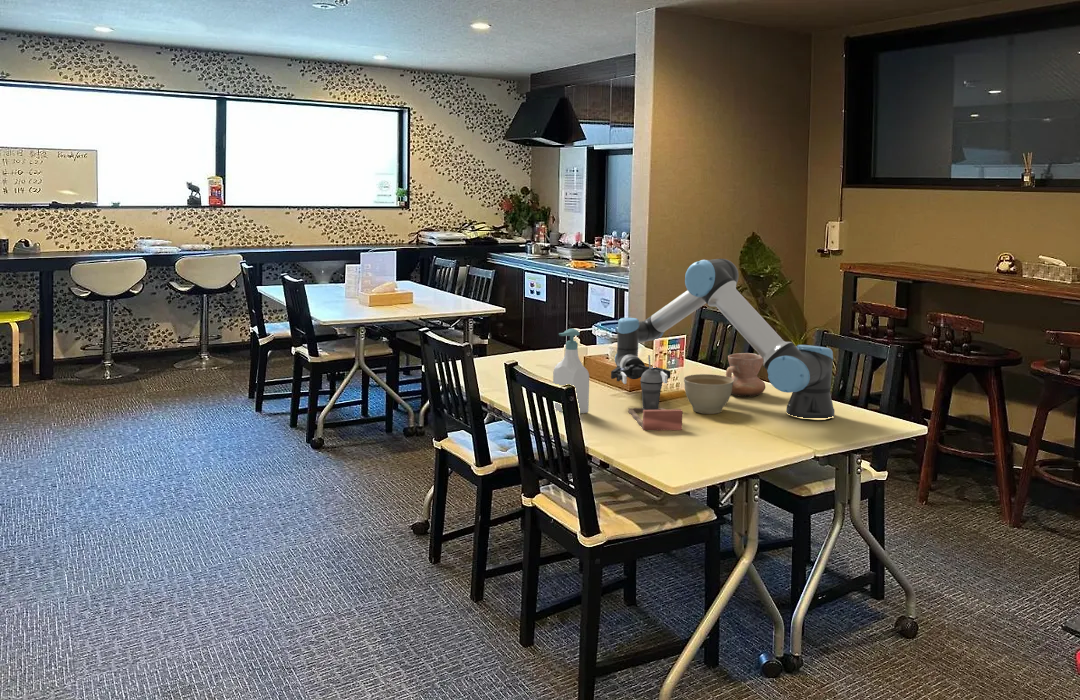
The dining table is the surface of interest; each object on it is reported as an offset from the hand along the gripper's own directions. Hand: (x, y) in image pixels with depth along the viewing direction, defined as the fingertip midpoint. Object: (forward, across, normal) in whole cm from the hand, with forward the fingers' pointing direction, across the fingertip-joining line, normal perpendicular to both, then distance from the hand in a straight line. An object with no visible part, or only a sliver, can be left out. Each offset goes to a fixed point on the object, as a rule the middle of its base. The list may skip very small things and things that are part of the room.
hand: (645, 379), depth 298 cm
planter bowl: (0, -21, -11) cm, 24 cm away
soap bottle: (-2, +25, -11) cm, 28 cm away
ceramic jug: (-24, -41, -11) cm, 49 cm away
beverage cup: (+6, 0, -11) cm, 13 cm away
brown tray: (+11, 0, -11) cm, 15 cm away
